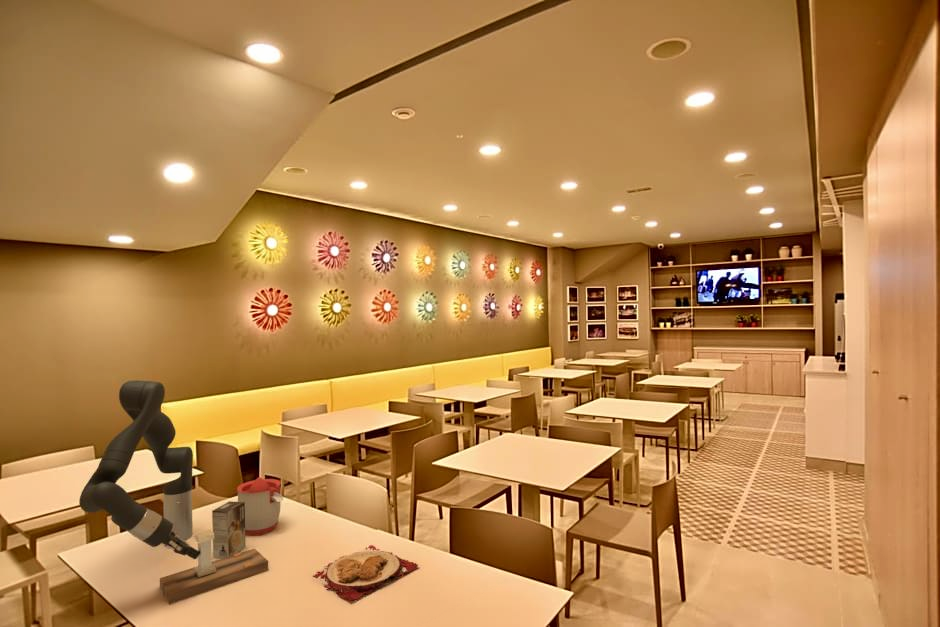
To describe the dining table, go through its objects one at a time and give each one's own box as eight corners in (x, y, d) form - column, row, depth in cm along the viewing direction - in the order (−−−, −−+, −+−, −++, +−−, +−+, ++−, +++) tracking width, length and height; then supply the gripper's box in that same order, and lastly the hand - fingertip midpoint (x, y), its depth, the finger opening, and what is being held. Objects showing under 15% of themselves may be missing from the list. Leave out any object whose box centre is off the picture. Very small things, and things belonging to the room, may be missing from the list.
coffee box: (230, 545, 181) (229, 500, 181) (246, 547, 180) (245, 501, 180) (212, 557, 172) (211, 510, 172) (228, 559, 171) (228, 511, 171)
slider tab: (193, 571, 156) (193, 533, 156) (211, 565, 160) (210, 528, 160) (198, 577, 153) (197, 538, 153) (216, 571, 156) (215, 533, 156)
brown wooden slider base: (159, 588, 153) (159, 577, 153) (254, 557, 172) (254, 547, 172) (169, 604, 144) (168, 592, 144) (268, 570, 163) (268, 559, 163)
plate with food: (419, 571, 163) (419, 559, 163) (350, 604, 143) (350, 592, 143) (371, 549, 179) (371, 539, 179) (303, 577, 159) (303, 565, 160)
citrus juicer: (267, 541, 184) (266, 486, 184) (227, 535, 189) (227, 482, 189) (293, 524, 199) (293, 473, 199) (256, 519, 204) (255, 469, 204)
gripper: (165, 522, 143) (213, 551, 152) (155, 509, 153) (200, 537, 161) (143, 546, 140) (193, 575, 148) (135, 532, 150) (182, 559, 158)
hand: (197, 555), depth 155 cm, fingers closed
